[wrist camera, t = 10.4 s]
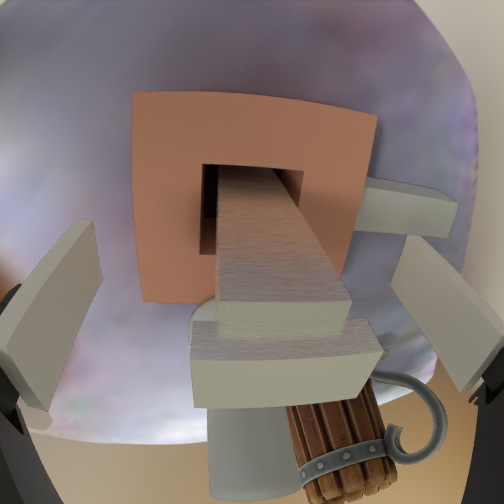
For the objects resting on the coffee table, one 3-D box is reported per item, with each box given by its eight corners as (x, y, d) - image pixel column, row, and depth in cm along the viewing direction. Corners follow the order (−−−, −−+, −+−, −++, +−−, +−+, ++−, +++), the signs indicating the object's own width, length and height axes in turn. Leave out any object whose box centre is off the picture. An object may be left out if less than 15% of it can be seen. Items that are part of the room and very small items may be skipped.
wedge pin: (207, 205, 20) (195, 418, 7) (209, 159, 19) (188, 340, 5) (271, 208, 21) (349, 408, 8) (277, 163, 19) (393, 332, 6)
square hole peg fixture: (161, 312, 24) (136, 500, 11) (154, 92, 16) (-54, 122, 2) (393, 310, 27) (469, 443, 13) (449, 139, 19) (615, 229, 5)
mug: (312, 408, 35) (338, 508, 22) (254, 385, 31) (272, 512, 18) (411, 339, 30) (468, 443, 17) (370, 298, 26) (445, 436, 13)
